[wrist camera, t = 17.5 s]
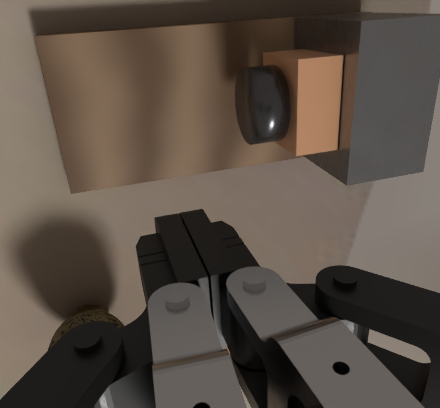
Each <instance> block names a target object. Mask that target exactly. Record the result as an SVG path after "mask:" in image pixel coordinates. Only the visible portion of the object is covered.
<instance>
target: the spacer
mask: <svg viewBox="0 0 440 408" xmlns="http://www.w3.org/2000/svg"><path fill="white" fill-rule="evenodd" d="M266 65H276V66H277V67H279V68H280V70H281V71H282V73H283V75H284V77H285V79H286V80H287V85H288V90H289V95H290V105H291V114H290V123H289V128H288V131H287V134H286V136H285V137H284V138H283V139H282V140H280V141H275V143H277V144H278V145H280V146H281V147H283V148H285V149H286V150H288V151H289V152H291V153H292V154H294V155H295V156H301V155H308V154H314V153H320V152H327V151H333V150H337V148H338V132H339V117H340V101H341V85H342V70H343V55H340V54H333V53H326V52H319V51H312V50H305V49H297V50H286V51H275V52H264V53H263V66H266Z"/></svg>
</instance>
